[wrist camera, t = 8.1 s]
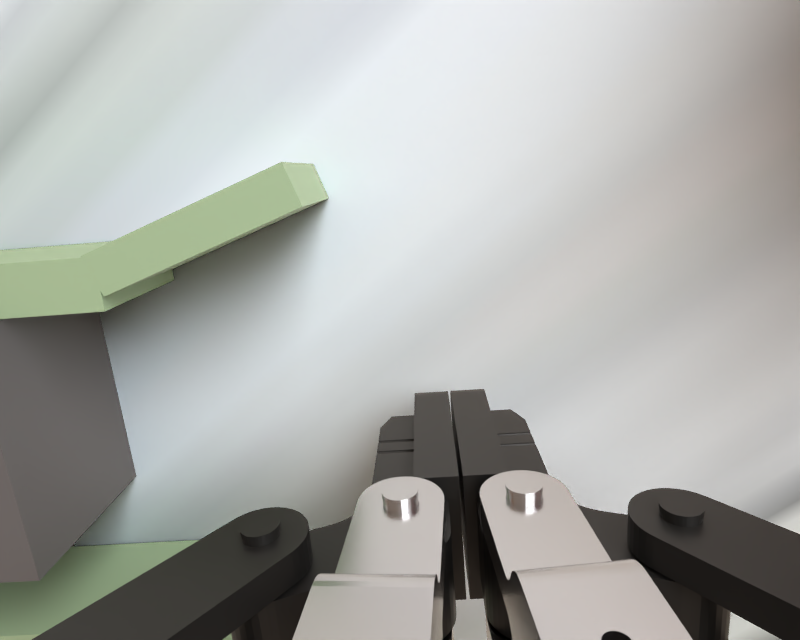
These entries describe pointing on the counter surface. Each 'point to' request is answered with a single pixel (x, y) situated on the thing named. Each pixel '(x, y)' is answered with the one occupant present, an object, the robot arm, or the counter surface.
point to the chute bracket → (105, 289)
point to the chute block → (55, 439)
